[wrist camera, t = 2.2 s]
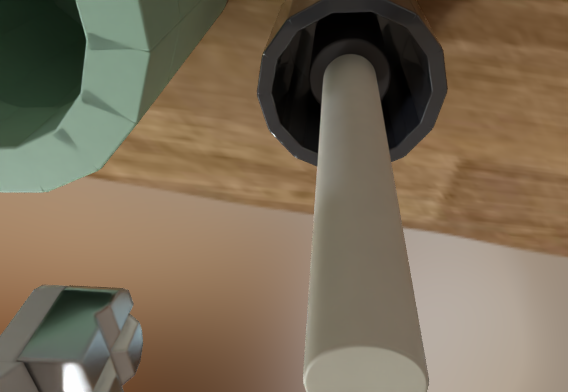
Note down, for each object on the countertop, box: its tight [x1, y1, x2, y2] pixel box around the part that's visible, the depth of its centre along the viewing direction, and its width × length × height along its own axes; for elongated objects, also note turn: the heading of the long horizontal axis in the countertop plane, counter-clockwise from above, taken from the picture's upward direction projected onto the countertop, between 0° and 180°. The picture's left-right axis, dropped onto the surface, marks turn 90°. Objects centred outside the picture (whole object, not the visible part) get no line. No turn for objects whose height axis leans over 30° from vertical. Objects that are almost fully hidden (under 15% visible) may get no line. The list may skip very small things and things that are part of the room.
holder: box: [257, 0, 448, 166], centre depth 19 cm, size 6×6×7 cm
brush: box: [303, 12, 429, 392], centre depth 14 cm, size 3×3×17 cm
